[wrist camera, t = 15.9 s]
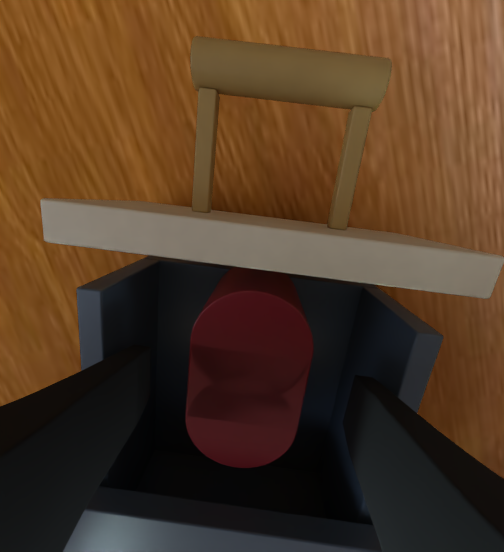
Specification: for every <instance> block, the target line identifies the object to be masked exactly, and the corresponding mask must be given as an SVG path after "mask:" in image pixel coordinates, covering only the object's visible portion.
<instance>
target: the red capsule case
mask: <svg viewBox="0 0 504 552" xmlns="http://www.w3.org/2000/svg"><path fill="white" fill-rule="evenodd" d="M313 351H314V342H313V336H312V333H311V330H310V327H309V324H308V321H307V318H306V316H305V313H304V310H303V307H302V304H301V302H300V299H299V296H298V293H297V291H296V288H295V286H294V284H293V282H292V281H291V279H290V278H289V277H288V276H287V274H285V273H282V272H274V271H266V270H259V269H251V268H243V267H234V268H232V269H231V270H229V271H228V272H227V273H226V274H225V275H224V276H223V277H222V278H221V279H220V281H219V283H218V284H217V286H216V288H215V289H214V291H213V293H212V294H211V296H210V297H209V299H208V301H207V302H206V304H205V306H204V307H203V309H202V311H201V312H200V314H199V316H198V317H197V319H196V321H195V323H194V325H193V328H192V332H191V337H190V350H189V366H188V382H187V398H186V413H185V414H186V415H185V422H186V428H187V431H188V434H189V436H190V438H191V440H192V442H193V443H194V445H195V446H196V447H197V448H198V449H199V450H200V451H201V452H202V453H203V454H204V455H206V456H207V457H209V458H210V459H212V460H214V461H216V462H218V463H220V464H223V465H227V466H231V467H237V468H253V467H259V466H263V465H266V464H269V463H271V462H273V461H275V460H276V459H278V458H280V457H281V456H282V455H283V454H285V453H286V451H287V450H288V449H289V448H290V446H291V445H292V443H293V441H294V439H295V437H296V434H297V430H298V425H299V420H300V415H301V411H302V406H303V401H304V396H305V391H306V386H307V382H308V377H309V372H310V367H311V362H312V358H313Z"/></svg>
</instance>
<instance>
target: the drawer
mask: <svg viewBox="0 0 504 552" xmlns="http://www.w3.org/2000/svg"><path fill="white" fill-rule="evenodd" d="M190 64H191V75H192V81H193V85H194V88H195V90H196V91H198V110H197V127H196V145H195V162H194V180H193V197H192V207H185V206H177V205H169V204H161V203H153V202H145V201H125V200H89V199H53V198H44V199H41V212H42V223H43V234H44V240H45V241H46V242H49V243H57V244H65V245H72V246H80V247H88V248H96V249H103V250H111V251H119V252H127V253H134V254H142V255H150V256H148V257H145V258H144V259H141V260H139V261H137V262H134V263H132V264H130V265H128V266H125V267H123V268H121V269H119V270H116V271H114V272H112V273H110V274H107V275H105V276H103V277H101V278H98V279H96V280H94V281H91V282H89V283H87V284H85V285H82V286H80V287H78V288H77V306H78V322H79V339H80V355H81V371H82V370H84V369H86V368H88V367H90V366H92V365H94V364H96V363H98V362H100V361H102V360H104V359H106V358H108V357H110V356H112V355H114V354H116V353H118V352H120V351H122V350H124V349H126V348H128V347H130V346H133V345H140V346H147V347H151V381H150V397H149V400H148V402H147V404H146V406H145V408H144V411H143V413H142V415H141V417H140V419H139V421H138V423H137V425H136V427H135V428H134V430H133V432H132V433H131V435H130V437H129V438H128V440H127V441H126V443H125V445H124V446H123V448H122V450H121V451H120V453H119V454H118V456H117V458H116V459H115V461H114V463H113V464H112V466H111V467H110V469H109V471H108V472H107V474H106V475H105V477H104V479H103V480H102V482H101V484H100V485H99V486H104V487H111V488H118V489H125V490H132V491H139V492H146V493H153V494H160V495H166V496H173V497H180V498H187V499H194V500H201V501H208V502H215V503H222V504H229V505H236V506H243V507H250V508H257V509H264V510H271V511H278V512H285V513H292V514H299V515H306V516H313V517H320V518H327V519H334V520H341V521H348V522H355V523H362V524H369V525H374V524H373V522H372V519H371V516H370V513H369V510H368V507H367V504H366V501H365V499H364V496H363V493H362V490H361V487H360V484H359V481H358V478H357V476H356V473H355V470H354V467H353V464H352V461H351V458H350V455H349V451H348V446H347V442H346V437H345V433H344V428H343V419H344V415H345V411H346V407H347V404H348V400H349V396H350V392H351V388H352V384H353V380H354V377H355V375H359V376H367V377H373V378H374V379H376V380H377V381H378V382H380V383H381V384H382V385H384V386H385V387H386V388H387V389H388V390H390V391H391V392H392V393H393V394H394V395H396V396H397V397H398V398H399V399H400V400H402V401H403V402H404V403H405V404H406V405H408V406H409V407H410V408H411V409H412V410H414V411H415V412H416V413H417V412H418V409H419V406H420V403H421V400H422V397H423V395H424V392H425V389H426V386H427V383H428V380H429V377H430V375H431V372H432V369H433V366H434V363H435V360H436V358H437V355H438V352H439V349H440V346H441V343H442V340H443V335H441V334H440V333H439V332H437V331H436V330H435V329H433V328H432V327H430V326H429V325H428V324H426V323H425V322H424V321H422V320H421V319H420V318H418V317H417V316H416V315H414V314H413V313H412V312H410V311H409V310H407V309H406V308H405V307H403V306H402V305H401V304H399V303H398V302H397V301H395V300H394V299H393V298H391V297H390V296H389V295H387V294H386V293H384V292H383V291H382V290H380V289H379V288H378V287H376V286H375V285H383V286H390V287H398V288H406V289H414V290H421V291H429V292H437V293H445V294H453V295H460V296H468V297H476V298H484V299H488V298H490V297H491V294H492V291H493V289H494V286H495V284H496V281H497V278H498V276H499V273H500V271H501V268H502V266H503V263H504V257H502V256H499V255H495V254H490V253H486V252H481V251H477V250H472V249H467V248H463V247H458V246H454V245H449V244H444V243H440V242H435V241H431V240H426V239H422V238H417V237H412V236H408V235H403V234H399V233H392V232H384V231H376V230H368V229H360V228H352V227H347V224H348V220H349V215H350V210H351V206H352V201H353V196H354V192H355V187H356V182H357V178H358V173H359V168H360V164H361V159H362V154H363V150H364V145H365V140H366V136H367V131H368V126H369V122H370V117H371V112H373V111H375V110H376V109H377V108H378V107H379V105H380V103H381V101H382V100H383V97H384V95H385V93H386V90H387V87H388V84H389V80H390V76H391V69H392V62H391V60H390V59H389V58H382V57H373V56H365V55H356V54H347V53H339V52H330V51H321V50H313V49H304V48H295V47H287V46H278V45H269V44H261V43H252V42H243V41H235V40H226V39H217V38H208V37H200V36H196V37H194V38H193V41H192V45H191V56H190ZM219 94H224V95H232V96H241V97H249V98H257V99H266V100H274V101H283V102H291V103H300V104H308V105H316V106H325V107H333V108H342V109H350V110H351V111H350V112H349V114H348V120H347V125H346V130H345V135H344V140H343V145H342V150H341V156H340V161H339V166H338V171H337V176H336V181H335V187H334V192H333V197H332V202H331V207H330V212H329V218H328V223H327V224H320V223H312V222H304V221H296V220H288V219H280V218H272V217H264V216H256V215H248V214H240V213H232V212H224V211H216V210H211V204H212V191H213V178H214V165H215V151H216V138H217V125H218V112H219V99H220V97H219ZM234 267H243V268H251V269H259V270H266V271H274V272H282V273H285V274H287V276H288V277H289V278H290V279H291V281H292V282H293V284H294V286H295V288H296V291H297V293H298V296H299V299H300V302H301V304H302V307H303V310H304V313H305V316H306V318H307V321H308V324H309V327H310V330H311V333H312V336H313V342H314V351H313V358H312V362H311V367H310V372H309V377H308V382H307V386H306V391H305V396H304V401H303V406H302V411H301V415H300V420H299V425H298V430H297V434H296V437H295V439H294V441H293V443H292V445H291V446H290V448H289V449H288V450H287V451H286V453H285V454H283V455H282V456H281V457H280V458H278V459H276V460H275V461H273V462H271V463H269V464H266V465H263V466H259V467H253V468H237V467H231V466H227V465H223V464H220V463H218V462H216V461H214V460H212V459H210V458H209V457H207V456H206V455H204V454H203V453H202V452H201V451H200V450H199V449H198V448H197V447H196V446H195V445H194V443H193V442H192V440H191V438H190V436H189V434H188V431H187V428H186V422H185V415H186V414H185V413H186V398H187V382H188V366H189V350H190V337H191V332H192V328H193V325H194V323H195V321H196V319H197V317H198V316H199V314H200V312H201V311H202V309H203V307H204V306H205V304H206V302H207V301H208V299H209V297H210V296H211V294H212V293H213V291H214V289H215V288H216V286H217V284H218V283H219V281H220V279H221V278H222V277H223V276H224V275H225V274H226V273H227V272H228V271H229V270H231V269H232V268H234ZM374 284H375V285H374Z"/></svg>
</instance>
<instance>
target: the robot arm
mask: <svg viewBox="0 0 504 552" xmlns="http://www.w3.org/2000/svg"><path fill="white" fill-rule="evenodd" d="M150 381H151V347H147V346H140V345H133V346H130V347H128V348H126V349H124V350H122V351H120V352H118V353H116V354H114V355H112V356H110V357H108V358H106V359H104V360H102V361H100V362H98V363H96V364H94V365H92V366H90V367H88V368H86V369H84V370H82V371H80V372H78V373H76V374H74V375H72V376H70V377H68V378H65V379H63V380H61V381H59V382H57V383H55V384H52V385H50V386H48V387H46V388H44V389H42V390H39V391H37V392H35V393H33V394H30V395H28V396H26V397H23V398H21V399H18V400H16V401H13V402H11V403H8V404H6V405H3V406H0V552H63V550H64V549H65V547H66V545H67V543H68V541H69V539H70V537H71V535H72V533H73V531H74V529H75V527H76V525H77V523H78V521H79V520H80V518H81V516H82V514H83V512H84V510H85V509H86V507H87V505H88V503H89V502H90V500H91V498H92V496H93V495H94V493H95V492H96V490H97V488H98V487H99V485H100V484H101V482H102V480H103V479H104V477H105V475H106V474H107V472H108V471H109V469H110V467H111V466H112V464H113V463H114V461H115V459H116V458H117V456H118V454H119V453H120V451H121V450H122V448H123V446H124V445H125V443H126V441H127V440H128V438H129V437H130V435H131V433H132V432H133V430H134V428H135V427H136V425H137V423H138V421H139V419H140V417H141V415H142V413H143V411H144V408H145V406H146V404H147V402H148V400H149V397H150ZM343 428H344V433H345V437H346V442H347V446H348V451H349V455H350V458H351V461H352V464H353V467H354V470H355V473H356V476H357V478H358V481H359V484H360V487H361V490H362V493H363V496H364V499H365V501H366V504H367V507H368V510H369V513H370V516H371V519H372V522H373V524H374V527H375V530H376V533H377V536H378V539H379V542H380V545H381V548H382V552H504V479H503V478H502V477H500V476H499V475H497V474H496V473H494V472H493V471H491V470H490V469H489V468H487V467H486V466H484V465H483V464H482V463H480V462H479V461H477V460H476V459H475V458H473V457H472V456H471V455H469V454H468V453H467V452H465V451H464V450H463V449H461V448H460V447H459V446H457V445H456V444H455V443H454V442H452V441H451V440H450V439H448V438H447V437H446V436H444V435H443V434H442V433H441V432H439V431H438V430H437V429H436V428H434V427H433V426H432V425H431V424H429V423H428V422H427V421H426V420H425V419H423V418H422V417H421V416H420V415H418V414H417V413H416V412H415V411H414V410H412V409H411V408H410V407H409V406H408V405H406V404H405V403H404V402H403V401H402V400H400V399H399V398H398V397H397V396H396V395H394V394H393V393H392V392H391V391H390V390H388V389H387V388H386V387H385V386H384V385H382V384H381V383H380V382H378V381H377V380H376V379H374V378H373V377H367V376H359V375H355V377H354V380H353V384H352V388H351V392H350V396H349V400H348V404H347V407H346V411H345V415H344V419H343Z"/></svg>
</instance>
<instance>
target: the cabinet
mask: <svg viewBox="0 0 504 552" xmlns="http://www.w3.org/2000/svg"><path fill="white" fill-rule="evenodd" d="M63 552H382V548H381V545H380V542H379V539H378V536H377V533H376V530H375V527H374V525H369V524H362V523H355V522H348V521H341V520H334V519H327V518H320V517H313V516H306V515H299V514H292V513H285V512H278V511H271V510H264V509H257V508H250V507H243V506H236V505H229V504H222V503H215V502H208V501H201V500H194V499H187V498H180V497H173V496H166V495H160V494H153V493H146V492H139V491H132V490H125V489H118V488H111V487H104V486H99V487H98V488H97V490H96V492H95V493H94V495H93V496H92V498H91V500H90V502H89V503H88V505H87V507H86V509H85V510H84V512H83V514H82V516H81V518H80V520H79V521H78V523H77V525H76V527H75V529H74V531H73V533H72V535H71V537H70V539H69V541H68V543H67V545H66V547H65V549H64V550H63Z"/></svg>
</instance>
